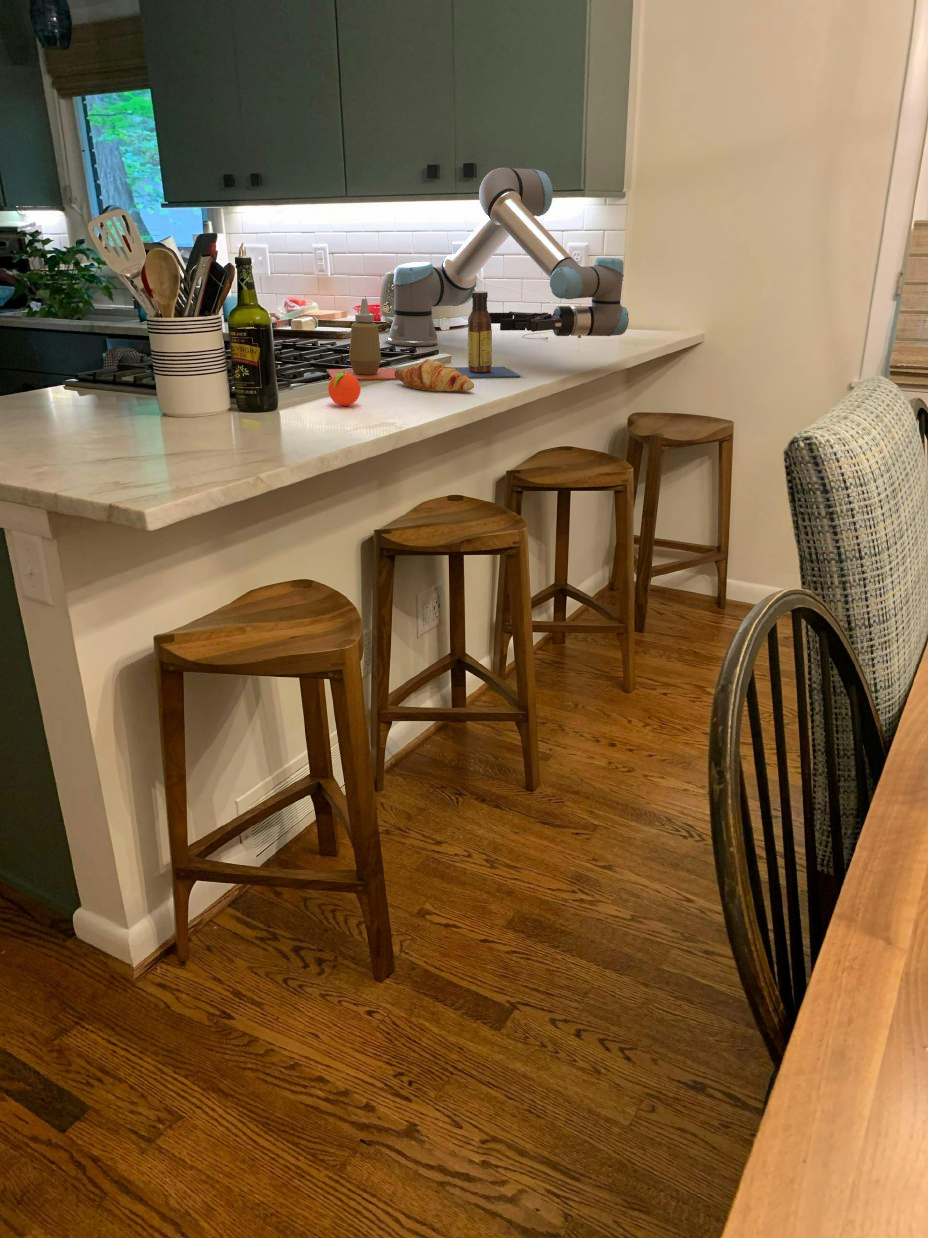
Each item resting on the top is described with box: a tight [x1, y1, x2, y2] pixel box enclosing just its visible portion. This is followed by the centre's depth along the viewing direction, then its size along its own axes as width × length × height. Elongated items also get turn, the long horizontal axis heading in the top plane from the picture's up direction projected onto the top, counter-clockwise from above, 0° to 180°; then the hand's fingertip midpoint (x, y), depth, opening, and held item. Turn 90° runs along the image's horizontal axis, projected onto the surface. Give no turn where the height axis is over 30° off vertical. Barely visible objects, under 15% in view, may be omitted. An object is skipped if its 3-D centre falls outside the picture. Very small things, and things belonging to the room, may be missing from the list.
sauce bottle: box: [467, 290, 493, 373], centre depth 240 cm, size 6×6×20 cm
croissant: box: [395, 358, 475, 392], centre depth 221 cm, size 21×10×8 cm, turn 66°
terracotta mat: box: [325, 367, 399, 381], centre depth 236 cm, size 14×18×1 cm
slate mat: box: [455, 366, 521, 379], centre depth 244 cm, size 14×18×1 cm
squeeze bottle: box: [348, 298, 382, 375], centre depth 233 cm, size 8×8×18 cm
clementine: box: [327, 372, 362, 407], centre depth 200 cm, size 8×7×7 cm
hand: (492, 321), depth 239 cm, fingers open, 13 cm apart
